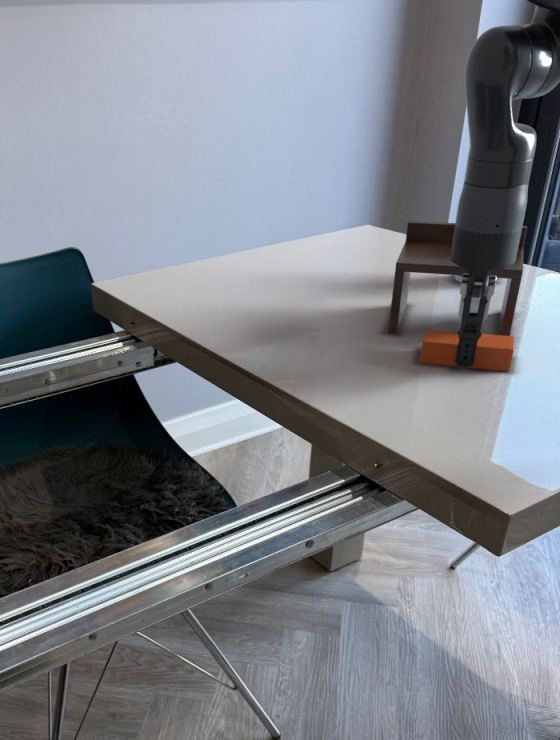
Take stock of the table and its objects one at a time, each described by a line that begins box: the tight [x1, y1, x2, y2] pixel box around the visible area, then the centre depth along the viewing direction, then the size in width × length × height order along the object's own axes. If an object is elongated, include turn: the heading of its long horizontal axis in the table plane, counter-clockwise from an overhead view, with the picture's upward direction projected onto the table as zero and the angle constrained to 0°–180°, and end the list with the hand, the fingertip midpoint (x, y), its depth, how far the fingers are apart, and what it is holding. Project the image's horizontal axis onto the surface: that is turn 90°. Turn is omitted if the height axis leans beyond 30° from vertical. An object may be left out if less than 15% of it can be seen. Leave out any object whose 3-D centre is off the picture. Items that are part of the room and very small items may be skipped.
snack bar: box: [419, 328, 515, 372], centre depth 102 cm, size 11×4×3 cm, turn 70°
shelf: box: [387, 220, 528, 336], centre depth 110 cm, size 16×12×12 cm
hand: (465, 356), depth 102 cm, fingers closed on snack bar, 4 cm apart
